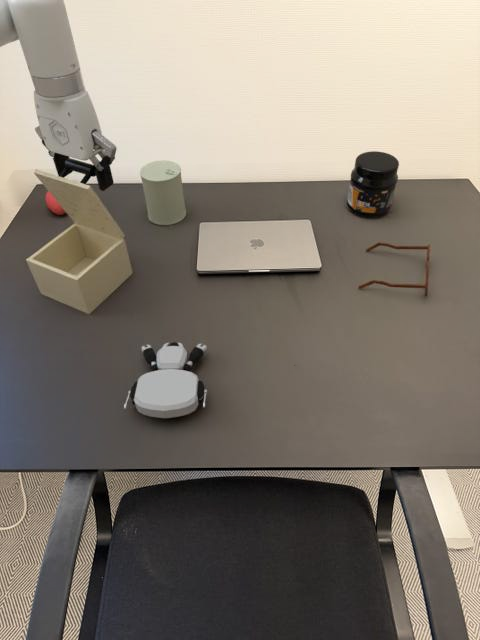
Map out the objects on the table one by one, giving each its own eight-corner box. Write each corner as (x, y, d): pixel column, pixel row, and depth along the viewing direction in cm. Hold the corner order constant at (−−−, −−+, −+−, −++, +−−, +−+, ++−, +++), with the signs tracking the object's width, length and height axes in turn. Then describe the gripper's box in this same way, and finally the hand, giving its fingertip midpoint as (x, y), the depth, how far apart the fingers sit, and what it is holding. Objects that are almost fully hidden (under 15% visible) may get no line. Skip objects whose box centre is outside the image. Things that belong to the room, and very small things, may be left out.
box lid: (87, 189, 78) (106, 162, 80) (33, 172, 83) (52, 147, 84) (123, 238, 91) (138, 215, 93) (73, 221, 95) (89, 199, 97)
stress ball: (43, 220, 114) (43, 206, 109) (48, 190, 118) (48, 174, 112) (66, 224, 116) (66, 210, 111) (70, 194, 119) (71, 179, 114)
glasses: (426, 301, 90) (433, 282, 87) (357, 289, 93) (362, 270, 90) (428, 260, 99) (434, 241, 95) (365, 249, 102) (369, 230, 98)
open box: (89, 314, 90) (76, 280, 83) (41, 294, 94) (25, 259, 88) (132, 273, 98) (124, 239, 92) (86, 256, 102) (75, 222, 96)
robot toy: (142, 355, 83) (127, 426, 72) (137, 337, 80) (121, 408, 69) (210, 354, 83) (206, 425, 72) (209, 336, 80) (204, 406, 69)
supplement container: (337, 209, 113) (344, 162, 104) (360, 191, 118) (368, 145, 110) (376, 225, 108) (387, 177, 99) (398, 205, 113) (410, 159, 105)
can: (175, 228, 109) (168, 182, 100) (140, 220, 111) (131, 174, 102) (192, 208, 114) (187, 162, 106) (159, 200, 117) (152, 155, 108)
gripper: (1, 81, 74) (36, 179, 87) (84, 100, 69) (110, 202, 81) (36, 66, 79) (65, 161, 91) (117, 83, 73) (136, 182, 85)
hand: (86, 180), depth 86 cm, fingers open, 9 cm apart
